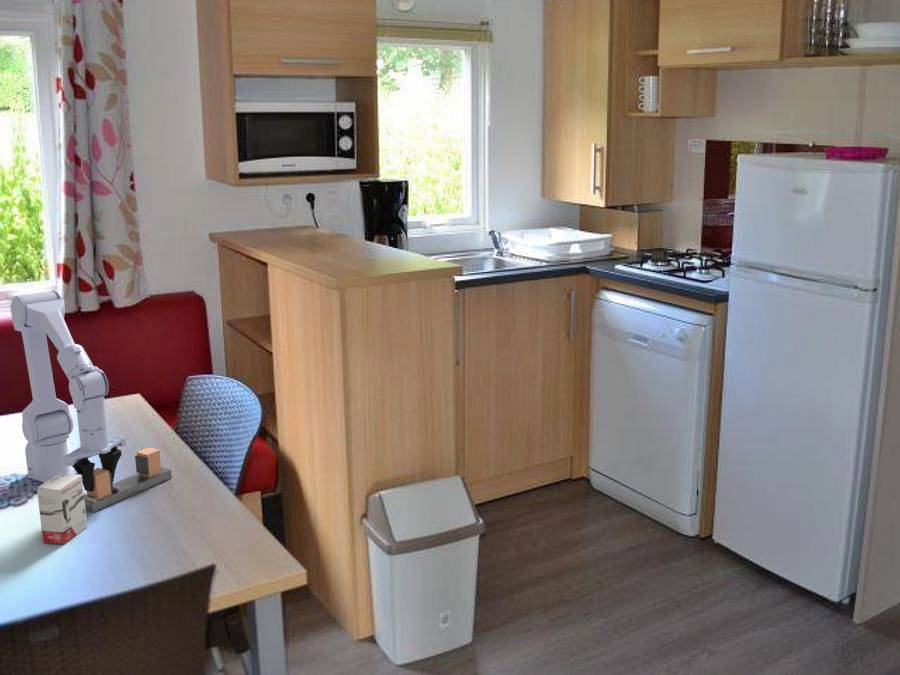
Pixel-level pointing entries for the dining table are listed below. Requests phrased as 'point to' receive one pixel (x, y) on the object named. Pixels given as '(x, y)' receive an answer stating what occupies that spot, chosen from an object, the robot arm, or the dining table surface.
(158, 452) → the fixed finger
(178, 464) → the dining table surface
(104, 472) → the tan block with backing
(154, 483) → the rail
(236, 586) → the dining table surface
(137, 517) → the dining table surface
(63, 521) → the ink box
